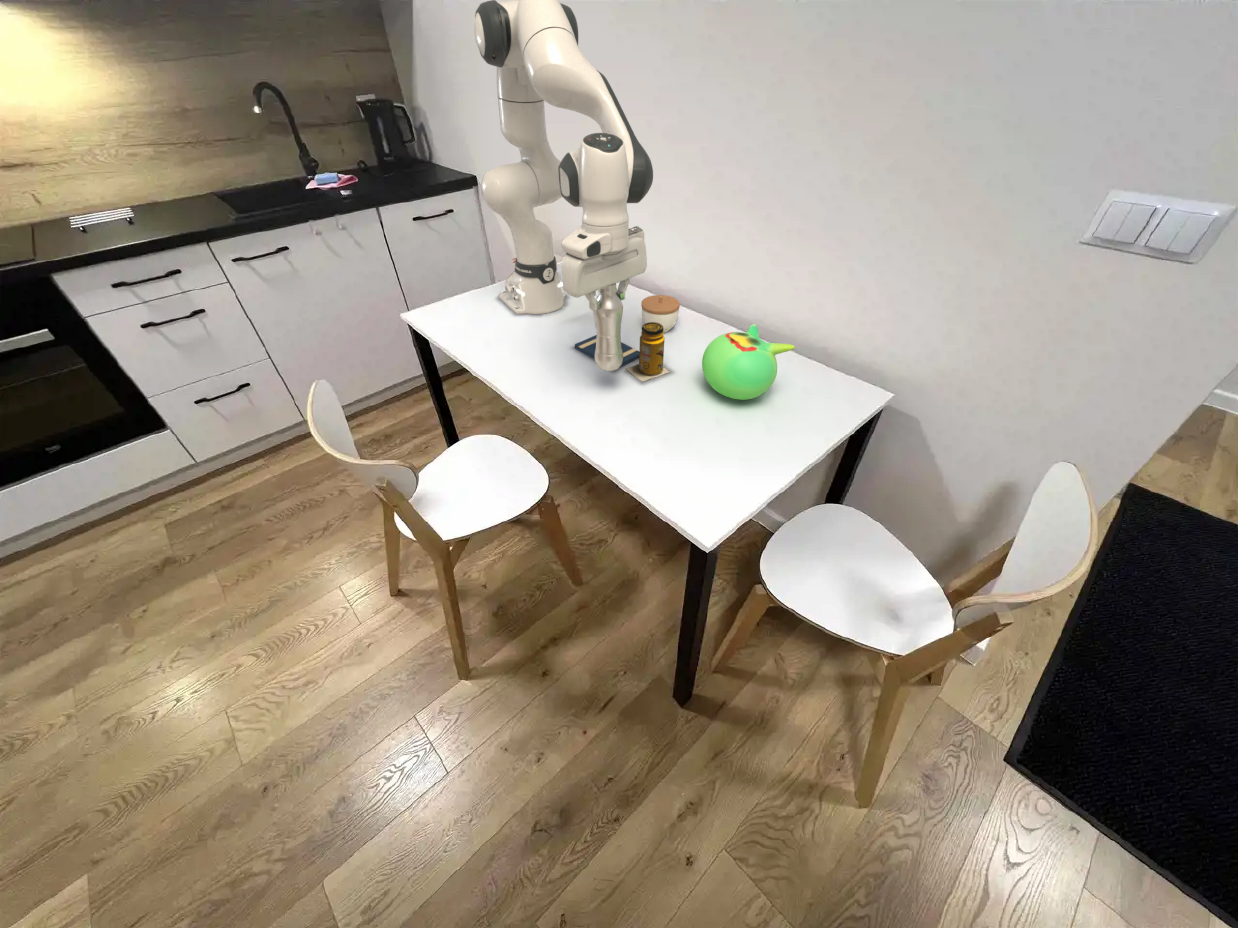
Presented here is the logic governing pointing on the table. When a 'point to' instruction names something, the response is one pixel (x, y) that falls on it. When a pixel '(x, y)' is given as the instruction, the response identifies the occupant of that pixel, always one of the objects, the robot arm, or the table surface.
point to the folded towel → (590, 346)
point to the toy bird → (741, 364)
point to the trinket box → (660, 310)
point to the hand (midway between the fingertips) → (607, 304)
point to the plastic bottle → (608, 329)
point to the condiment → (650, 353)
